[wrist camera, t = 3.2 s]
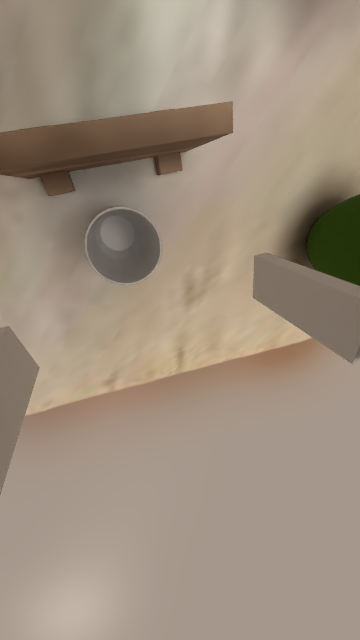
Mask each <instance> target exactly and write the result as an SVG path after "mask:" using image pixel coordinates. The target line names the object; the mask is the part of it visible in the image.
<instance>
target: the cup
mask: <svg viewBox="0 0 360 640" xmlns="http://www.w3.org/2000/svg"><path fill="white" fill-rule="evenodd" d="M84 244H85V252H86V256H87V259H88V261H89V263H90V265H91V266H92V268H93V269H94V270H95V271H96V272H97V273H98V274H99V275H100V276H101V277H103V278H104V279H106V280H108V281H110V282H113V283H116V284H122V285H130V284H135V283H138V282H141V281H143V280H145V279H146V278H148V277H149V276H150V275H151V274H152V273H153V272H154V271H155V269H156V268H157V266H158V264H159V262H160V259H161V255H162V241H161V237H160V234H159V232H158V229H157V228H156V226H155V225H154V223H153V222H152V221H151V220H150V219H149V218H148V217H147V216H146V215H145V214H143V213H142V212H140V211H138V210H135V209H133V208H129V207H111V208H108V209H105V210H103V211H102V212H100V213H99V214H98V215H97V216H96V217H95V218H94V219H93V220H92V221H91V223H90V225H89V226H88V229H87V231H86V235H85V242H84Z"/></svg>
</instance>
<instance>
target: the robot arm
mask: <svg viewBox="0 0 360 640" xmlns="http://www.w3.org/2000/svg"><path fill="white" fill-rule="evenodd" d="M253 298H254V299H256V300H257V301H259V302H260V303H262V304H263V305H265V306H266V307H268V308H269V309H271V310H272V311H274V312H275V313H277V314H278V315H280V316H281V317H283V318H284V319H286V320H287V321H289V322H290V323H292V324H293V325H295V326H296V327H298V328H299V329H301V330H302V331H304V332H305V333H307V334H308V335H310V336H311V337H313V338H314V339H316V340H317V341H319V342H320V343H322V344H323V345H325V346H326V347H327V348H329V349H330V350H332V351H334V352H335V353H337V354H338V355H340V356H341V357H342V358H344V359H345V360H347V361H348V362H350V363H352V364H354V363H356V362H358V361H360V286H358V285H355V284H352V283H350V282H347V281H344V280H341V279H338V278H336V277H333V276H330V275H327V274H324V273H322V272H319V271H316V270H313V269H310V268H308V267H305V266H302V265H299V264H297V263H294V262H291V261H288V260H285V259H283V258H280V257H277V256H274V255H271V254H269V253H266V252H265V253H262V254H258V255H255V256H254V279H253ZM39 368H40V367H39V366H38V365H37V363H36V362H35V361H34V359H33V358H32V357H31V355H30V354H29V353H28V351H27V350H26V348H25V347H24V346H23V344H22V343H21V342H20V340H19V339H18V338H17V336H16V335H15V334H14V332H13V331H12V330H11V328H10V327H9V326H7V327H4V328H0V494H1V490H2V487H3V484H4V481H5V477H6V474H7V471H8V468H9V464H10V461H11V458H12V455H13V452H14V448H15V445H16V442H17V439H18V435H19V432H20V429H21V426H22V423H23V419H24V416H25V413H26V410H27V407H28V403H29V400H30V397H31V394H32V390H33V387H34V384H35V381H36V377H37V374H38V371H39Z"/></svg>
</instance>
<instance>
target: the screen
mask: <svg viewBox="0 0 360 640" xmlns="http://www.w3.org/2000/svg"><path fill="white" fill-rule="evenodd" d="M230 133H233V103H232V102H225V103H217V104H210V105H202V106H195V107H187V108H180V109H170V110H162V111H155V112H150V113H143V114H135V115H128V116H120V117H113V118H105V119H98V120H91V121H83V122H76V123H68V124H61V125H53V126H43V127H35V128H28V129H20V130H16V131H9V132H1V133H0V174H1V175H8V176H14V177H21V178H27V179H30V178H36V177H41V180H42V182H43V184H44V187H45V189H46V191H47V193H48V196H51V195H56V194H61V193H67V192H72V191H75V188H74V186H73V183H72V180H71V178H70V175H69V172H71V171H76V170H82V169H88V168H94V167H99V166H105V165H111V164H117V163H122V162H128V161H134V160H140V159H145V158H151V157H155V160H156V166H157V172H158V175H161V174H166V173H171V172H177V171H182V164H181V156H180V152H185V151H189V150H191V149H194V148H196V147H198V146H201V145H203V144H206V143H208V142H211V141H213V140H215V139H218V138H220V137H223V136H225V135H228V134H230Z"/></svg>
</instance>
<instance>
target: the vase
mask: <svg viewBox="0 0 360 640" xmlns="http://www.w3.org/2000/svg"><path fill="white" fill-rule="evenodd" d="M306 245H307V253H308V257H309V259H310V261H311V263H312V265H313V267H314V269H315V270H316V271H319V272H322V273H324V274H327V275H330V276H333V277H336V278H338V279H341V280H344V281H347V282H350V283H352V284H355V285H358V286H360V195H357V196H354V197H352V198H349V199H348V200H346V201H344V202H342V203H340V204H339V205H337V206H335V207H333V208H332V209H330V210H329V211H327V212H326V213H325V214H324V215H322V216H321V217H320V218H319V219H318V220H317V221H316V222H315V224H314V225H313V227H312V228H311V230H310V232H309V235H308V238H307V244H306Z"/></svg>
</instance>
